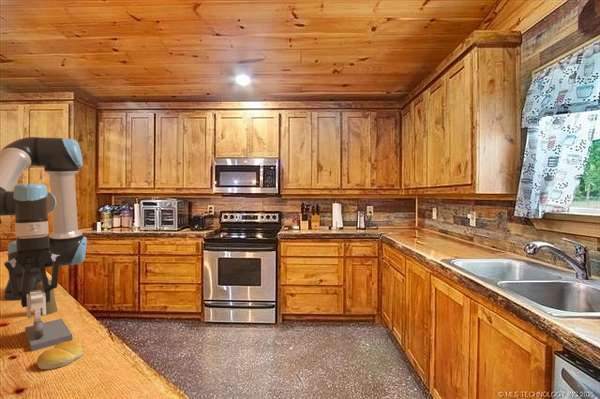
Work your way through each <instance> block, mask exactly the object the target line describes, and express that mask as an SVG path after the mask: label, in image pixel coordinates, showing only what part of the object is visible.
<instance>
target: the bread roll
mask: <svg viewBox="0 0 600 399" xmlns="http://www.w3.org/2000/svg"><path fill="white" fill-rule="evenodd" d="M83 353H84V352H83V348H82V345H80V344H79V343H77V342H76V341H72V340H70V341H66V342H62V343H59V344H56V345H54V347H52V348H49V349H46V350H44V351H43V352H41V353H40V354H39V356H38V357H37V360H36V365H37V366H38V368H39V369H40V370H44V369H48V370H53V369H59V368H62V367H65V365H66V366H68V365H69V364H72V363H73V362H74V361H77V360H78V359H79V358H80V357H81V356H82V355H83Z"/></svg>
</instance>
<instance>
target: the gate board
mask: <svg viewBox="0 0 600 399" xmlns="http://www.w3.org/2000/svg"><path fill="white" fill-rule="evenodd" d="M24 333H25V336H26V340H27V341H28V345H29V348H30V351H31V352H33V351H37V350H41V349H44V348H45V349H46V348H48V347H51V346H56V345H57V344H59V343H62V342H67V341H73V334H72V332H71V330H70V329H69V327H68V326H67V325H66V323H65V322H64V320H63V319H62V318H59V319H53V320H50V321H45V322H43V336H42V337H40V338H34V324H33V325H28V326H25V327H24Z"/></svg>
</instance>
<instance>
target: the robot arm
mask: <svg viewBox="0 0 600 399" xmlns="http://www.w3.org/2000/svg"><path fill="white" fill-rule="evenodd" d="M83 164H84V163H83V156H82V151H81V148H80V144H79V143H78V141H77V140H76V139H73V138H64V137H38V136H28V137H22V138H20V139H17V140H14V141H12V142H10V143H8V144H7V145H5V146H4V147H3V148H2V149H1V150H0V217H3V216H4V217H5V216H6V217H7V216H14V222H15V224H14V226H15V227H14V228H15V237H17V238H16V240H14V241H12V242H9V243H8V245H7V260H6V261H4V263H3V265H4V267H5V268H6V269H7V272H8V279H7V282H6V286H5V289H4V291H3V299H4V300H7V301H17V300H20V302H21V307H22V308H26V317H27V319H31V318H32V310H31V303H30V291H35V290H36V285H37V284H38V283H39V282H41V281H42V284H43V288H44V291H42V295H43V306H44V308H42V314H43V315H42V316H47V315H46V302H50V291H51V290H52V289H53V290H54V289H57V288H58V282H59V281H58V279H59V270H60V269H59V267H63V266H73V265H80V264H82V263H83V262H84V261H85V258H86V253H87V247H88V238H87V237H86V236H84V235H83V232H82V231H81V230H79V227H78V226H79V225H78V209H77V208H78V207H77V206H78V205H77V191H76V179H75V178H76V175H77V174H78V173H79V171H80V170H79V169H80V168H82V167H83ZM30 167H43V169H44V173H46V174H47V175H48V176H49V188H50V192H49V191H48V189H47V185H45V184H43V183H19V184H17V183H18V181H19V180H20V177H21V176H22V174H23V172H24V171H26V170H27V169H29V168H30ZM50 213H51V217H52V227H53V228H52V230H53V232H52V233H50V235H49V236H48V234H49V214H50ZM46 268H51V279H50V280H51V285H49V283H48V280H49V277H48V276H47V272H46Z"/></svg>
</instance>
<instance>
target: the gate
mask: <svg viewBox="0 0 600 399" xmlns="http://www.w3.org/2000/svg"><path fill="white" fill-rule="evenodd" d="M30 303H31V311H33V325H34V338H40V337H42V336H43V323H44V322H43V321H44V320H42V315H41V311H40V308H44V306H43V295H42V291H41V290H35V291H30Z"/></svg>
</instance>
